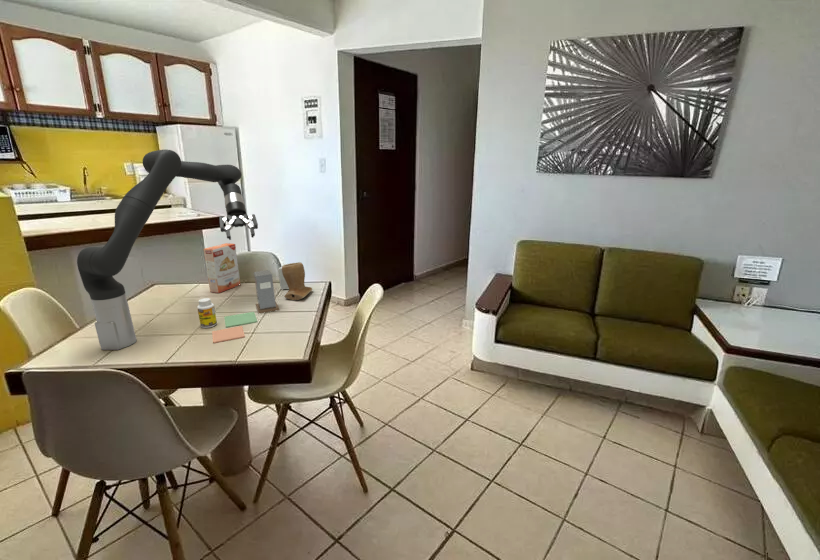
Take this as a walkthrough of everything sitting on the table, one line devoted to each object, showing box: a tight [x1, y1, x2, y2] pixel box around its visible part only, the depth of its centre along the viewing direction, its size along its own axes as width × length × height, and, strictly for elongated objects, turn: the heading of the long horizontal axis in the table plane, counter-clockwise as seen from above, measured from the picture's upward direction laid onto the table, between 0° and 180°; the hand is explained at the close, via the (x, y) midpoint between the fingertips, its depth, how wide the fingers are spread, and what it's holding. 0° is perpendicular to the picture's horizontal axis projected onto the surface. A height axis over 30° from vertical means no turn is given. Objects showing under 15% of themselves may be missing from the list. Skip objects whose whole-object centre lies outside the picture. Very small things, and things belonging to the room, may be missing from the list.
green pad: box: [223, 311, 258, 329], centre depth 154 cm, size 11×11×1 cm
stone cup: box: [281, 261, 313, 301], centre depth 178 cm, size 15×12×15 cm
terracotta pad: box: [211, 325, 246, 344], centre depth 141 cm, size 10×10×1 cm
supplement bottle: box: [196, 297, 218, 329], centre depth 147 cm, size 6×6×10 cm
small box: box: [277, 265, 289, 291], centre depth 190 cm, size 8×6×10 cm
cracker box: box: [203, 242, 241, 294], centre depth 189 cm, size 14×6×21 cm, turn 160°
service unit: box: [253, 269, 280, 314], centre depth 163 cm, size 9×8×15 cm
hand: (241, 237), depth 162 cm, fingers open, 8 cm apart
